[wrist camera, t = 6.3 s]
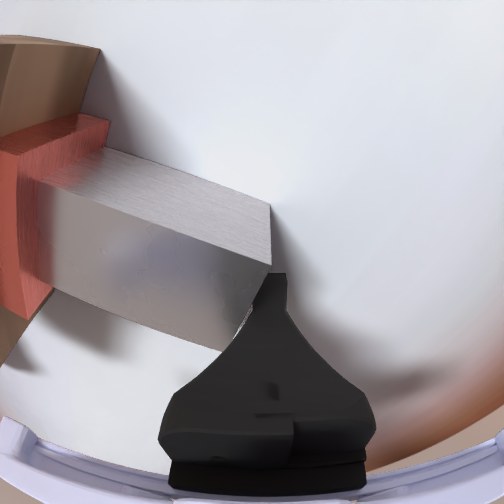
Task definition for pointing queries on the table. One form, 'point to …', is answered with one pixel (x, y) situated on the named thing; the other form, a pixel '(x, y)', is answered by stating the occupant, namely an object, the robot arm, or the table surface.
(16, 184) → the grey and red block
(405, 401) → the table surface
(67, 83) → the walnut block
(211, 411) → the robot arm
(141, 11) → the table surface
